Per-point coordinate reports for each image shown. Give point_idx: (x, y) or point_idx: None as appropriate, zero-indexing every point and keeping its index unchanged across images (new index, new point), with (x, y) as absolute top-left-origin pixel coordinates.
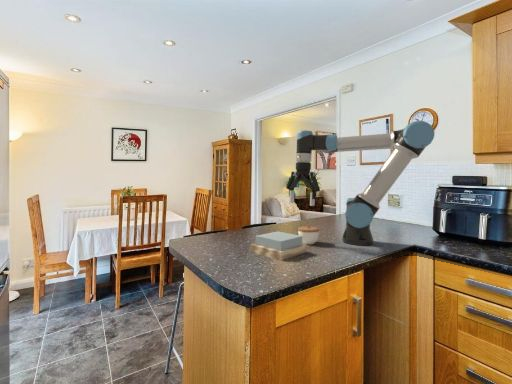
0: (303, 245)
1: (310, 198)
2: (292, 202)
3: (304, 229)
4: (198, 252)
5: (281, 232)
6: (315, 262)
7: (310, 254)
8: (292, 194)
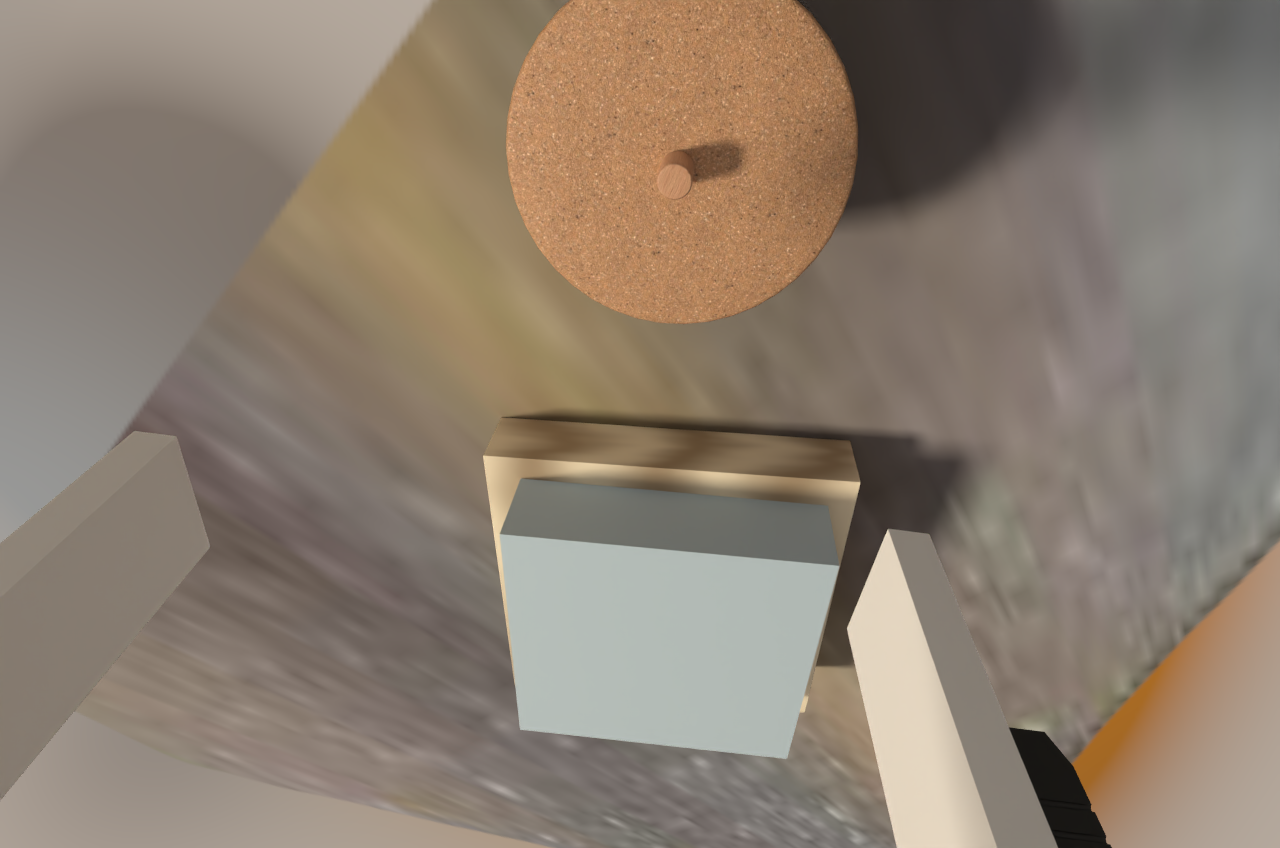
0: (848, 516)
1: (899, 806)
2: (187, 493)
3: (690, 309)
4: (351, 760)
5: (570, 552)
6: (1016, 598)
7: (911, 477)
8: (3, 700)
